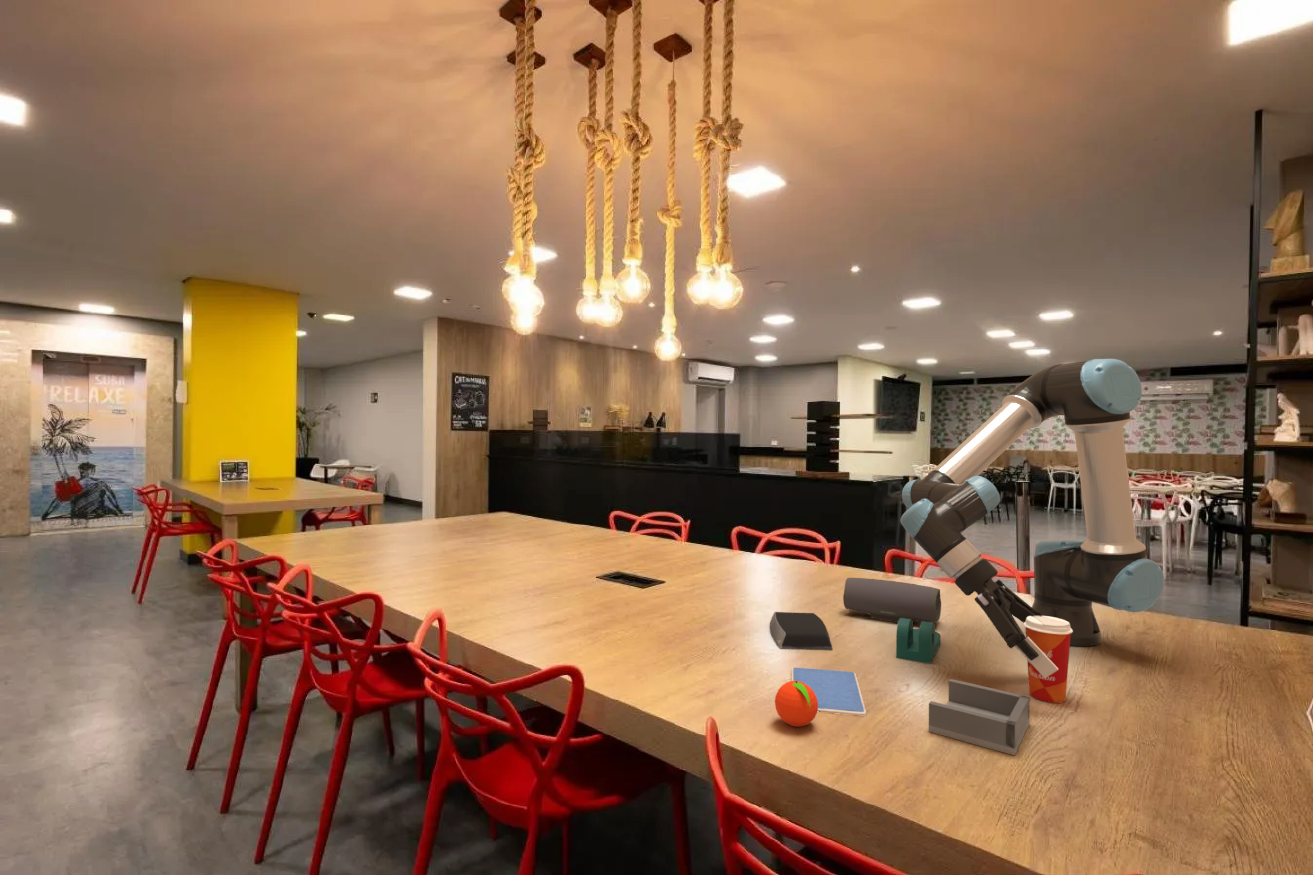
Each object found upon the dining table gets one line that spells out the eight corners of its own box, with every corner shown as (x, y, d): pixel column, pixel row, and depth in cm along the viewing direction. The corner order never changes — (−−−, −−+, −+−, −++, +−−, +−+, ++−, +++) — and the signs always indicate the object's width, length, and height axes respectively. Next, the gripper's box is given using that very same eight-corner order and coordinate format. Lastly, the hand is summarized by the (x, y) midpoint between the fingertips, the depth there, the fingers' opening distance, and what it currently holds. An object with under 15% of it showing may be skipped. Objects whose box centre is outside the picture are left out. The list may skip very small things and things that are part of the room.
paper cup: (1013, 688, 120) (1014, 614, 120) (1052, 687, 120) (1052, 614, 120) (1042, 706, 112) (1042, 627, 112) (1083, 705, 113) (1083, 626, 113)
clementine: (829, 734, 101) (830, 689, 101) (790, 740, 99) (791, 694, 99) (804, 713, 109) (804, 671, 109) (767, 718, 107) (767, 675, 107)
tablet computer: (867, 720, 107) (867, 712, 107) (791, 713, 110) (791, 705, 110) (855, 678, 126) (855, 671, 126) (791, 672, 129) (791, 666, 129)
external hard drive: (776, 651, 142) (776, 632, 142) (766, 625, 161) (767, 609, 161) (835, 652, 141) (836, 634, 141) (819, 626, 160) (819, 610, 160)
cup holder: (1029, 723, 105) (1029, 696, 105) (1014, 755, 95) (1014, 725, 95) (950, 704, 113) (950, 678, 113) (928, 731, 102) (928, 703, 102)
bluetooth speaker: (941, 622, 163) (941, 583, 163) (935, 631, 155) (935, 590, 155) (852, 608, 175) (852, 572, 175) (842, 616, 168) (842, 578, 168)
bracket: (930, 664, 133) (930, 627, 133) (896, 658, 136) (896, 622, 136) (942, 641, 148) (942, 607, 148) (911, 636, 152) (911, 603, 152)
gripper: (968, 570, 136) (1049, 656, 126) (935, 591, 116) (1028, 695, 107) (996, 548, 133) (1081, 634, 123) (967, 566, 113) (1066, 671, 104)
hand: (1057, 663), depth 115 cm, fingers open, 13 cm apart
